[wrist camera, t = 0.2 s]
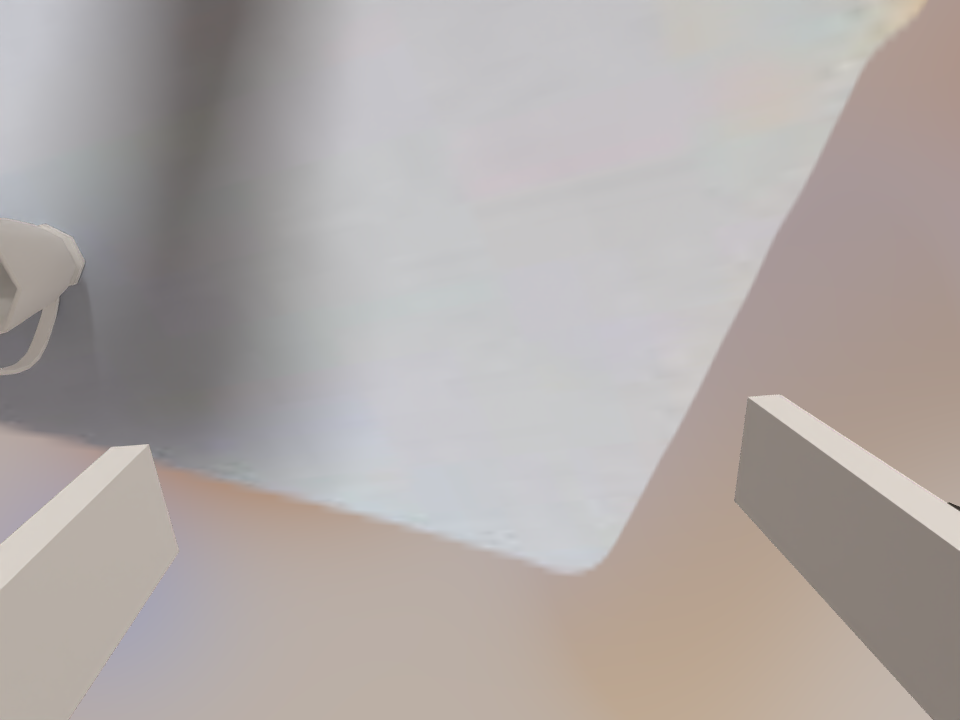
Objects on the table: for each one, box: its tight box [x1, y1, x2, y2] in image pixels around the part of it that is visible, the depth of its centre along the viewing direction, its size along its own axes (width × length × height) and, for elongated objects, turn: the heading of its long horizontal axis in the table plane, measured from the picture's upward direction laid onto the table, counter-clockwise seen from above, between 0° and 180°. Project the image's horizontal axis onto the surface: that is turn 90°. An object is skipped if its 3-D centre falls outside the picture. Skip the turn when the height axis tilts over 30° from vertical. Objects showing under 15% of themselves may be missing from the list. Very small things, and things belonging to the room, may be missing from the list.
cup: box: [0, 218, 85, 375], centre depth 33 cm, size 7×10×8 cm
